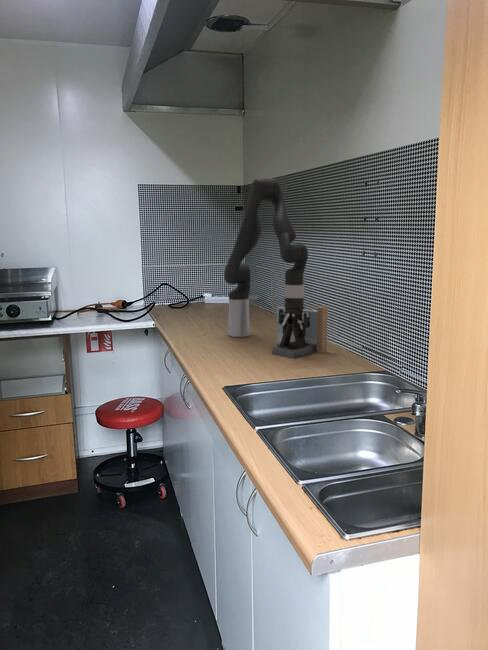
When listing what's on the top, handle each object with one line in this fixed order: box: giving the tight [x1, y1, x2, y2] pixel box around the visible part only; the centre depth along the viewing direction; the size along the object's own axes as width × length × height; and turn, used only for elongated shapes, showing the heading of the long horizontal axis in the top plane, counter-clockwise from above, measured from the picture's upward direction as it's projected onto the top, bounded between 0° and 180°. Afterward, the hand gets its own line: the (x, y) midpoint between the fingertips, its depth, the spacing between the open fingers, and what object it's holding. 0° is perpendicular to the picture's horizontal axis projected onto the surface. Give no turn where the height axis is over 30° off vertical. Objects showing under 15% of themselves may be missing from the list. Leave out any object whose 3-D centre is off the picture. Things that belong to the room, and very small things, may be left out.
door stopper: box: [279, 316, 306, 348], centre depth 208 cm, size 9×6×12 cm, turn 63°
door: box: [276, 305, 328, 354], centre depth 217 cm, size 24×3×18 cm, turn 45°
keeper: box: [271, 341, 317, 359], centre depth 210 cm, size 11×14×3 cm
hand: (293, 336), depth 209 cm, fingers open, 8 cm apart
